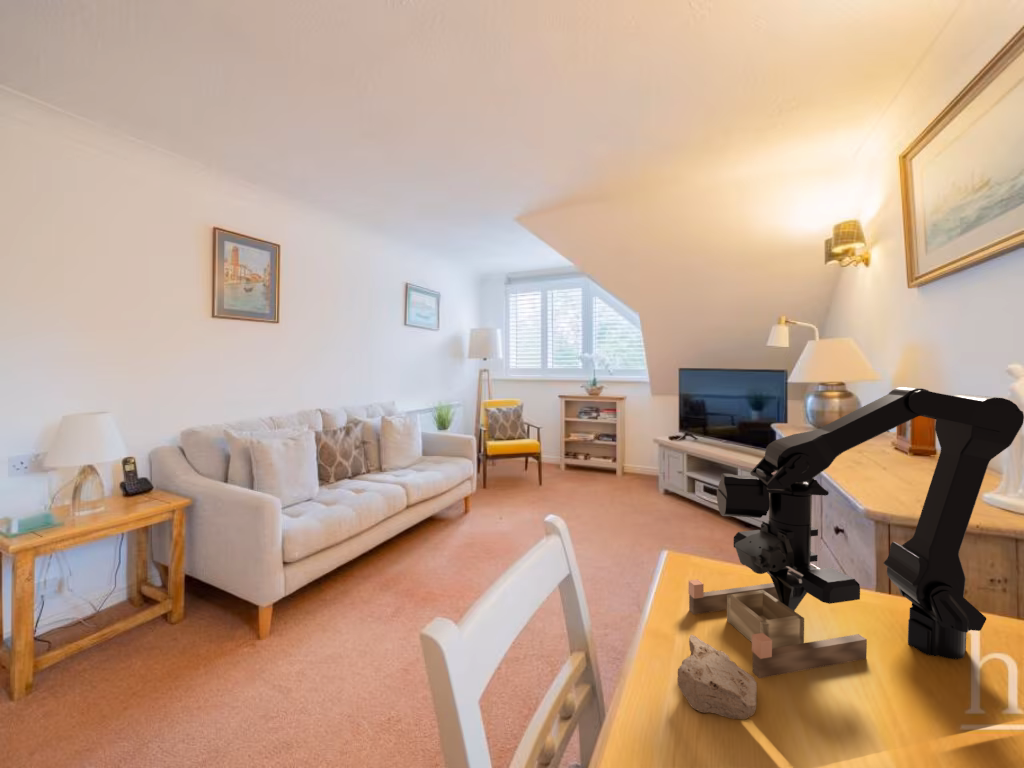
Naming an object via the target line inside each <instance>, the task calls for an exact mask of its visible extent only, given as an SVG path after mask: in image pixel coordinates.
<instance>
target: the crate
mask: <svg viewBox="0 0 1024 768" xmlns="http://www.w3.org/2000/svg"><path fill="white" fill-rule="evenodd" d="M726 621H727V622H728V623H729V625H731V626H732V627H733V628H735V629H736V631H738V632H739V633H740V634H741V635H743V636H744V637H745V639H747V640H748V641H749V642H750V643H752V634H758V633H764V634H765V635H766V636H768V637H769V638H770V639H771V640H772V649H773V648H779V647H785V646H791V645H797V644H802V643H805V617H804V616H803V615H800V614H799V613H797V612H796V610H795V611H793V610H792V609H790V608H789V607H787V606H786V605H784V604H783V603H782V602H780V601H779V600H777V599H776V598H774V597H773V596H771V595H770V594H768V593H767V592H766V591H764V590H759V591H752V592H745V593H737V594H730V595H727V610H726Z"/></svg>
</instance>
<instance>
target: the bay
mask: <svg viewBox="0 0 1024 768" xmlns="http://www.w3.org/2000/svg"><path fill="white" fill-rule="evenodd" d="M704 586H705V585H704V583H703V582H702V581H701V580H699V579H691V580H688V596H689V597H688V598H689V599H688V600H689V601H688V602H689V603H688V604H689V605H688V606H689V608H688V609H689V612H690V613H691V614H692V615H699V614H705V613H706V614H707V613H712V612H713V613H714V612H719V611H727V595H730V594H737V593H745V592H752V591H759V590H764V591H766V592H767V593H768V594H770V595H771V596H773V597H774V598H776V599H777V600H779V597H778V595H777V592H776V589H775V586H774V584H773V582H770V583H762V584H755V585H746V586H741V587H733V588H725V589H720V590H719V589H718V590H711V591H710V590H709V591H705V592H704ZM779 601H780V600H779ZM867 643H868V638H865V637H864V636H862V635H861V634H859V633H858V634H857V633H856V634H852V635H851V634H850V635H845V636H839V637H833V638H827V639H823V640H821V639H820V640H815V641H809V642H804V643H802V644H797V645H791V646H785V647H779V648H773V649H772V640H771V639H770V638H769V637H768V636H766V635H765V634H764V633H758V634H752V642H751V652H752V673H753V674H754V675H755V676H756V677H757V678H758V679H763V678H768V677H774V676H779V675H784V674H790V673H796V672H801V671H807V670H813V669H818V668H824V667H829V666H834V665H840V664H845V663H852V662H855V661H856V662H857V661H861V660H866V659H867V649H868V647H867V645H868V644H867Z"/></svg>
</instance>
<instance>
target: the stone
mask: <svg viewBox="0 0 1024 768" xmlns="http://www.w3.org/2000/svg"><path fill="white" fill-rule="evenodd" d="M688 643H689V650H690V656H687V657H686V658H684V659H683V660H682V662H681V664H680V666H679V668H678V670H677V686H678V687H679V689H680V692H681V694H682V695H683V696H684V698H686V700H687V702H688V704H689V705H690V706H691V707H692V708H693V709H694V710H695V711H698V712H699V713H700V712H701V713H704V714H705V713H712V714H716V715H718V716H722V717H726V718H729V719H735V720H737V719H740V720H745V719H746V720H747V719H749V718H750V717H752V716H754V714H755V712H756V710H757V695H758V692H757V691H758V683H757V681H756V679H755V677H754V676H753V675H751V674H750V673H748V672H747V671H746V670H745V669H744V668H741V667H740V666H738V665H737V664H736V662H734V661H733V660H731V658H730V656H729V655H728V654H726V652H725V651H722V650H717V649H716V648H715V647H713V646H712V645H711V644H709V643H706V642H705V641H704V640H701V639H700V638H699V637H697V636H696V635H693V634H690V635H689V637H688Z"/></svg>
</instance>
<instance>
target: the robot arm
mask: <svg viewBox="0 0 1024 768" xmlns="http://www.w3.org/2000/svg"><path fill="white" fill-rule="evenodd" d="M918 417H924V418H928V419H931V420H935V426H934V430H935V434H936V438H937V439H938V440H937V441H938V443H939V446H940V453H939V455H938V459H937V462H936V466H935V469H934V471H933V475H932V477H931V481H930V483H929V487H928V490H927V493H926V496H925V500H924V502H923V506H922V509H921V513H920V515H919V517H918V518H919V519H918V522H917V525H916V528H915V531H914V533H913V536H912V538H910V539H909V540H907V541H906V542H905V543H903V544H900V543H898V542H895V541H892V542H891V543H890V545H889V552H888V553H889V554H888V556H887V558H886V559H885V561H884V562H883V565H884V566H886V567H887V568H886V574H887V577H888V578H889V580H890V581H891V582H892V584H894V586H896V587H897V588H898V591H899V593H900V595H901V596H902V597H904V598H905V599H907V600H909V601H910V602H911V607H909V616H908V617H909V619H908V623H907V624H908V627H907V645H909V646H910V647H912V648H914V649H916V650H917V651H919V652H921V653H922V654H924V655H926V656H932V657H940V658H944V659H949V660H961V659H964V658H965V657H966V656H965V655H966V651H967V633H968V632H970V631H978V632H980V631H982V629H983V627H984V625H985V623H986V621H987V617H986V615H984V614H983V613H982V612H981V611H980V610H978V609H977V608H975V606H974V605H973V604H971V603H970V602H969V601H968V600H967V599H966V598H965V589H966V588H965V587H966V579H967V578H966V575H965V572H964V569H963V564H962V562H961V558H960V551H961V548H962V545H963V541H964V539H965V536H966V533H967V529H968V526H969V523H970V521H971V518H972V514H973V511H974V509H975V505H976V502H977V500H978V496H979V494H980V490H981V489H982V488H981V487H982V485H983V482H984V479H985V475H986V472H987V469H988V466H989V464H990V462H991V461H992V460H993V459H994V458H996V457H997V456H998V455H999V454H1001V453H1002V452H1003V451H1005V450H1006V449H1008V448H1009V447H1010V446H1011V445H1012V444H1013V442H1014V440H1015V439H1016V437H1017V435H1018V434H1019V432H1020V430H1021V428H1022V426H1023V425H1024V412H1023V411H1022V410H1021V409H1020V408H1019V406H1018V405H1017V404H1016V403H1015V402H1013V401H1012V400H1010V399H1007V398H1003V397H998V396H997V397H994V396H984V395H974V394H962V393H961V394H960V393H959V394H954V395H951V394H945V393H940V392H934V391H929V390H928V389H924V388H920V387H909V386H907V387H906V386H900V387H896V388H894V389H891V391H889V392H888V394H886V395H883V396H882V397H880V398H878V399H877V398H876V399H875V400H874V401H872V402H870V403H868V404H865V405H864V406H861V407H860V408H858V409H856V410H854V411H851V412H850V413H847V414H845V415H843V416H842V417H840V418H837V419H836V420H834V421H831V422H829V423H828V424H826V425H823V426H820V427H819V428H817V429H813V430H811V431H803V432H800V433H799V432H798V433H793V434H790V435H788V436H784V437H781V438H779V439H775V440H773V441H772V442H770V443H769V444H768V445H767V446H766V450H765V453H764V456H763V457H762V459H760V461H759V462H758V463H757V464H756V466H754V467H753V469H751V471H750V475H744V474H743V475H742V474H741V475H738V474H737V475H736V474H732V473H721V474H720V476H721V477H720V481H719V483H718V486H717V489H716V501H717V507H718V511H719V514H720V515H721V516H722V517H735V518H737V517H739V518H753V519H761V518H763V517H764V516H765V517H766V516H768V519H767V520H762V523H761V524H760V529H754V530H753V529H752V530H746V531H745V530H744V531H738V532H736V534H735V535H734V536H733V549H735V551H736V553H737V557H738V560H739V562H740V564H741V565H743V566H746V567H747V568H749V569H750V570H751V571H752V572H754V573H755V574H759V575H764V574H765V573H767V574H768V575H769V576H770V579H771V581H772V583H773V584H774V586H775V589H776V592H777V595H778V597H779V600H780V602H782V603H783V604H784V605H786V606H787V607H789V608H790V609H792V610H793V611H795V612H796V609H797V608H798V607H799V605H800V604H801V602H802V600H803V599H804V598H805V596H806V595H807V594H809V595H811V596H812V597H814V598H816V599H817V600H818V601H820V602H821V603H825V604H829V605H830V604H837V603H839V604H840V603H846V602H852V601H858V600H861V585H860V583H859V582H858V581H857V580H856V579H855V578H854V577H851V576H849V574H846V573H844V572H842V571H840V570H838V569H836V568H834V567H825V568H820V567H818V566H816V565H815V564H813V562H818V554H817V553H814V552H813V551H812V537H817V536H819V529H817V528H816V527H813V526H812V519H813V518H812V514H813V513H812V511H813V496H826V497H827V496H828V495H829V491H828V490H826V489H825V488H824V487H822V485H821V484H820V483H819V482H818V480H817V479H816V478H815V477H817V476H818V475H820V474H822V472H824V471H826V470H827V469H828V468H829V467H831V465H832V464H833V462H834V461H835V460H836V458H837V457H839V456H840V455H842V454H843V453H845V452H846V451H849V450H851V449H853V448H855V447H857V446H859V445H861V444H864V443H866V442H867V441H870V440H871V439H875V437H878V436H880V435H882V434H884V433H886V432H888V431H891V430H892V429H895V428H897V427H899V426H900V425H903V424H905V423H907V422H909V421H911V420H914V419H916V418H918ZM774 472H776V473H774ZM773 473H774V474H773ZM767 514H768V515H767Z"/></svg>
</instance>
